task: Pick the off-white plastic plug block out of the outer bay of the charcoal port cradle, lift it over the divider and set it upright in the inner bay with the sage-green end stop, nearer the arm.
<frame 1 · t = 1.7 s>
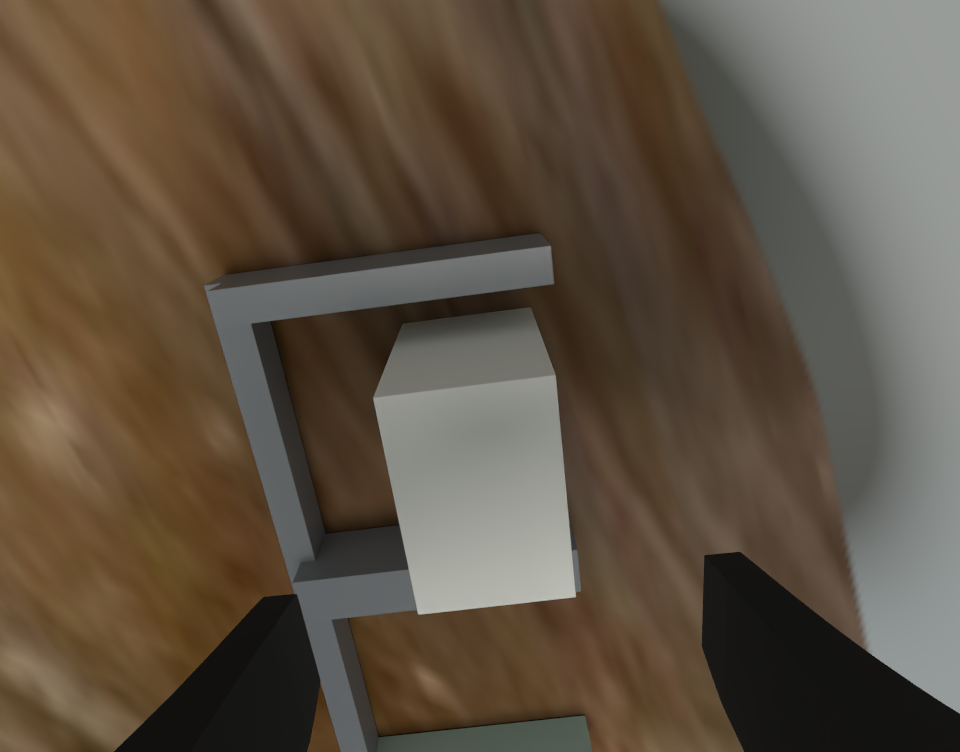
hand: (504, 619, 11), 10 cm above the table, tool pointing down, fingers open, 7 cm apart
port cradle: (497, 533, 21), on the table
plug block: (478, 403, 20), on the table
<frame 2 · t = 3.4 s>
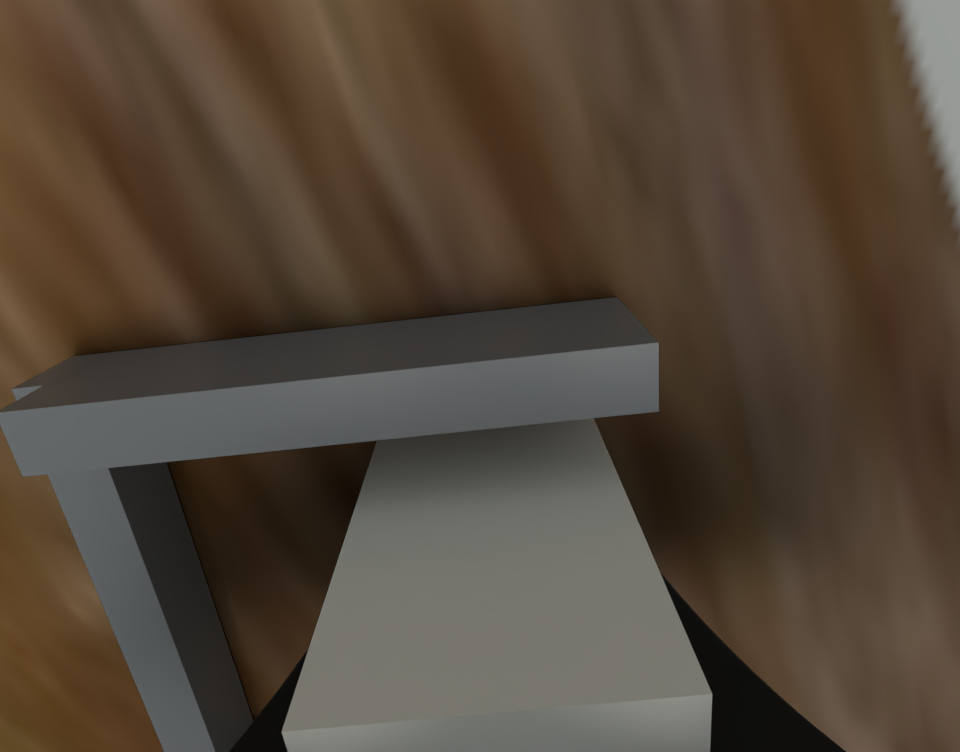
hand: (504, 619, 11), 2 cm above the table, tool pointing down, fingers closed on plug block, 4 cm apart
port cradle: (521, 737, 14), on the table
plug block: (500, 560, 12), on the table, touching gripper
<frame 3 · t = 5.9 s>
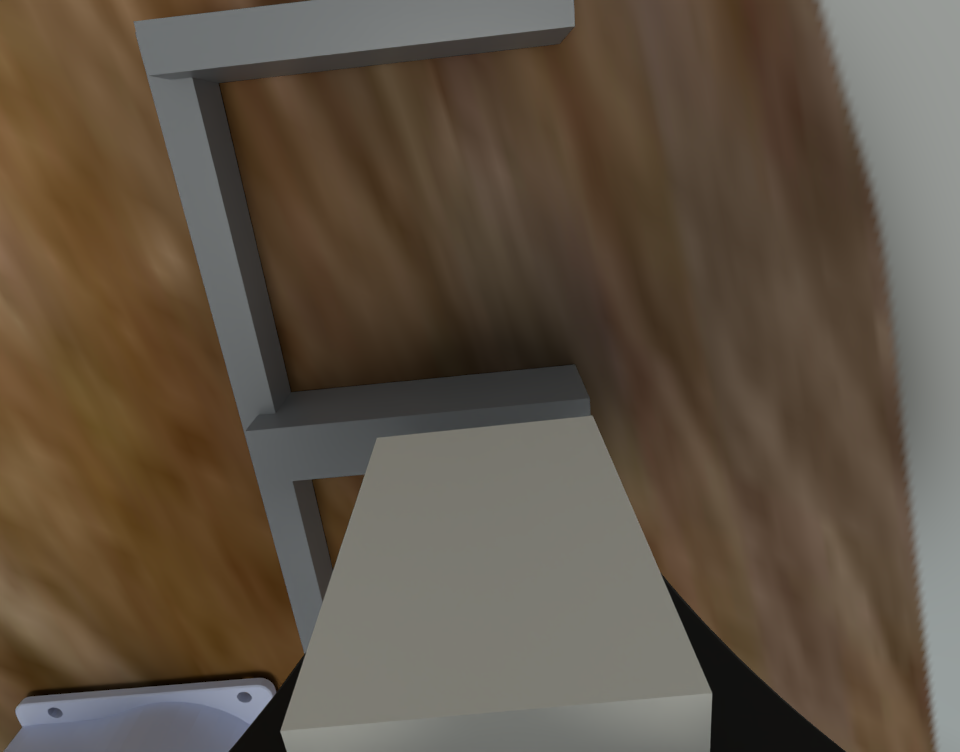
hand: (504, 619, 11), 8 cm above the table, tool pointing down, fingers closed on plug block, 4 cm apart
port cradle: (493, 397, 18), on the table
plug block: (500, 559, 12), point 7 cm above the table, touching gripper
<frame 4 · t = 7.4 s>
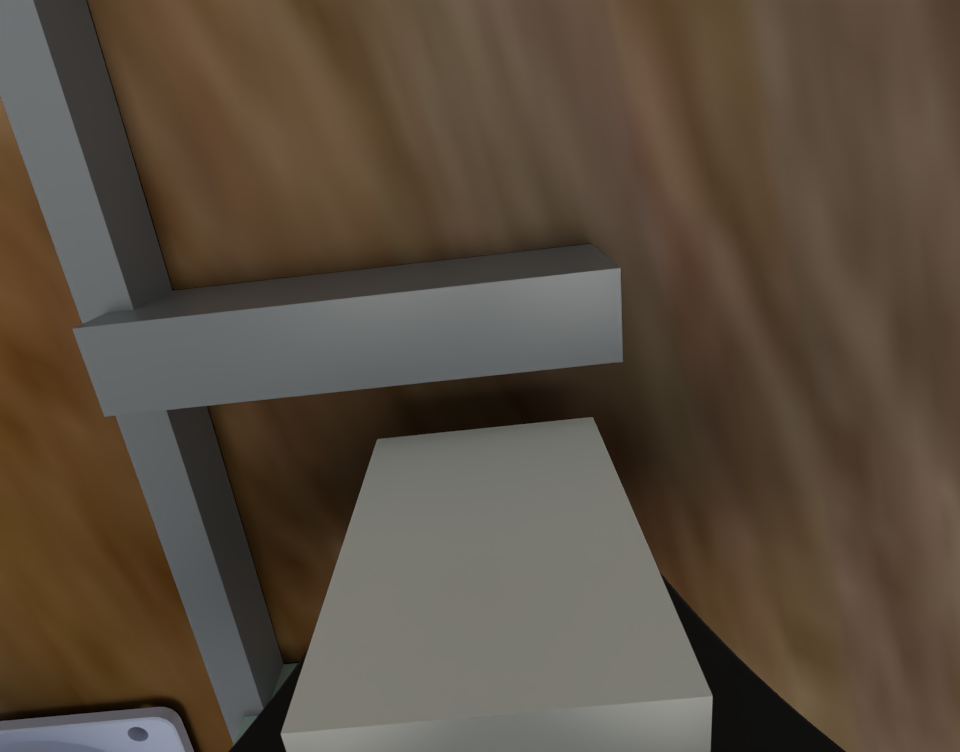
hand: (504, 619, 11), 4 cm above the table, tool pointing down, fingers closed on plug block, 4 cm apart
port cradle: (471, 296, 12), on the table
plug block: (500, 561, 12), point 2 cm above the table, touching gripper
when the fingers open (3 cm above the table, at t = 8.5 s): plug block drops 1 cm, on the table.
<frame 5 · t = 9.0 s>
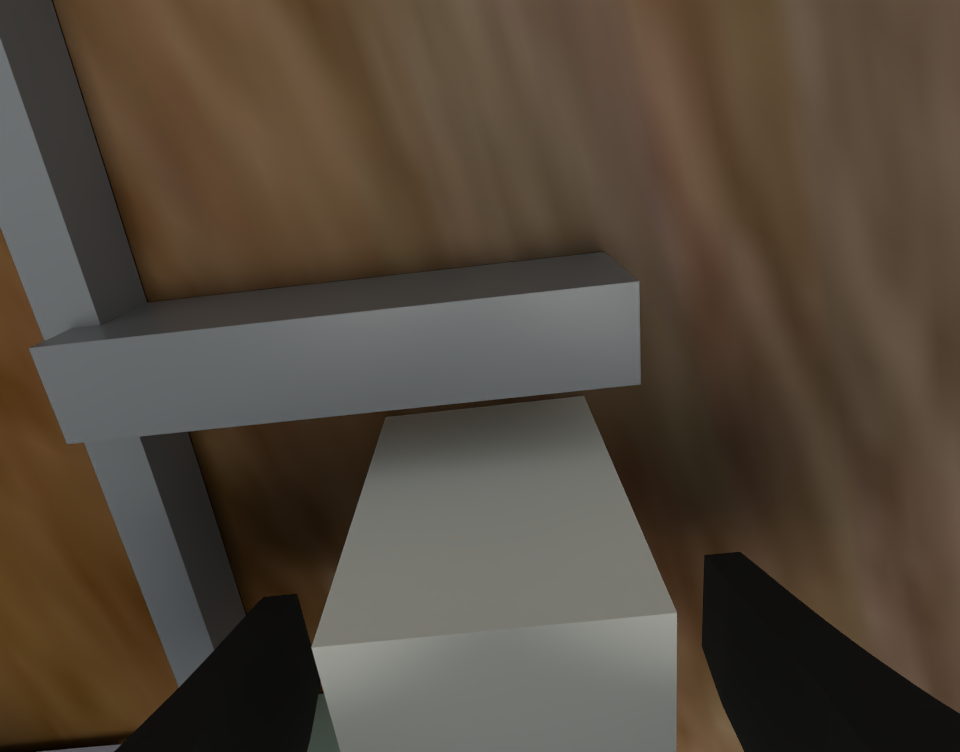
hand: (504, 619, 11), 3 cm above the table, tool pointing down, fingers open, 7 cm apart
port cradle: (472, 309, 11), on the table
plug block: (499, 530, 13), on the table
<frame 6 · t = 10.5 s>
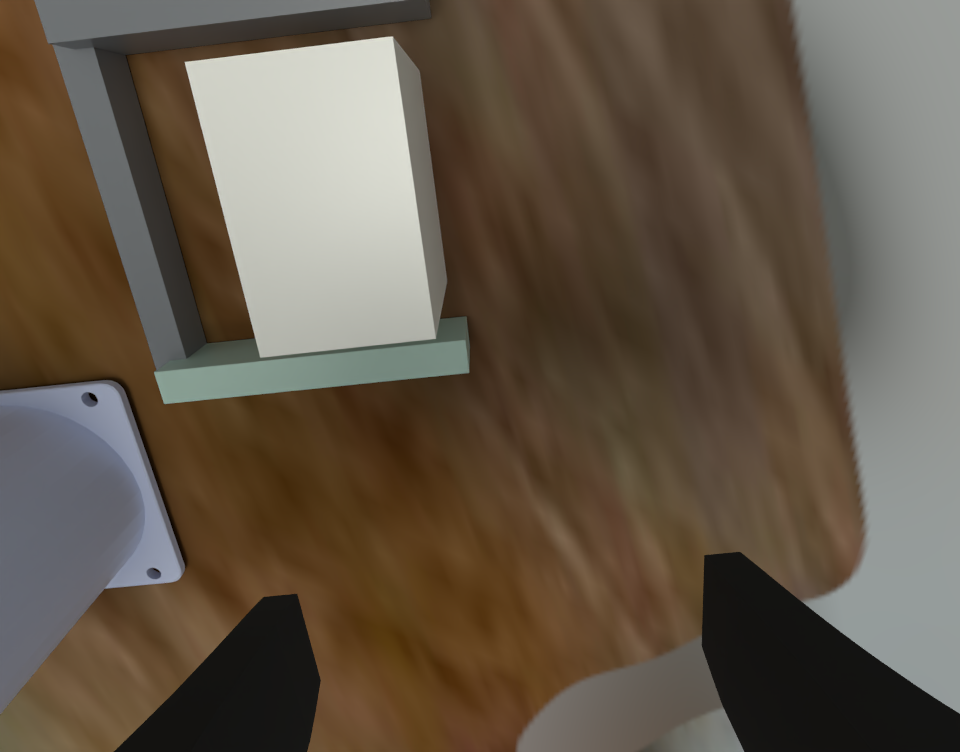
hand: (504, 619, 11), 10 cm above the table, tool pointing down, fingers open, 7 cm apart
plug block: (368, 189, 18), on the table
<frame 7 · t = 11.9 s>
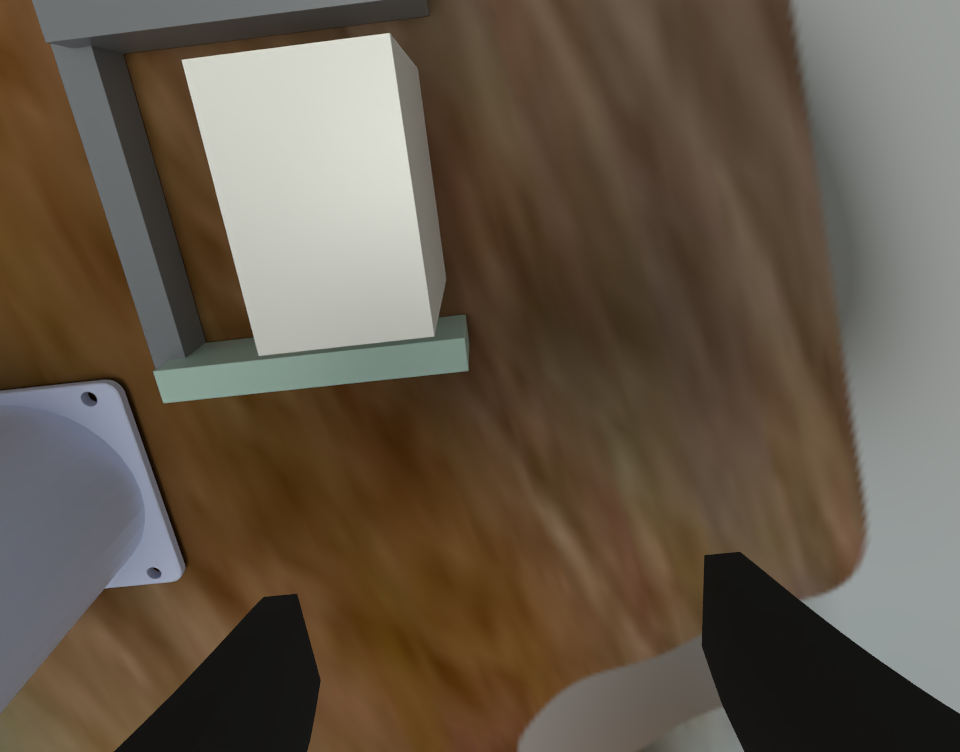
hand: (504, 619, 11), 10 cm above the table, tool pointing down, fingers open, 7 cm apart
plug block: (366, 188, 18), on the table
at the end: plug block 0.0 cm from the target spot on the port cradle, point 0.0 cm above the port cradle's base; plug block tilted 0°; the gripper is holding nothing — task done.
